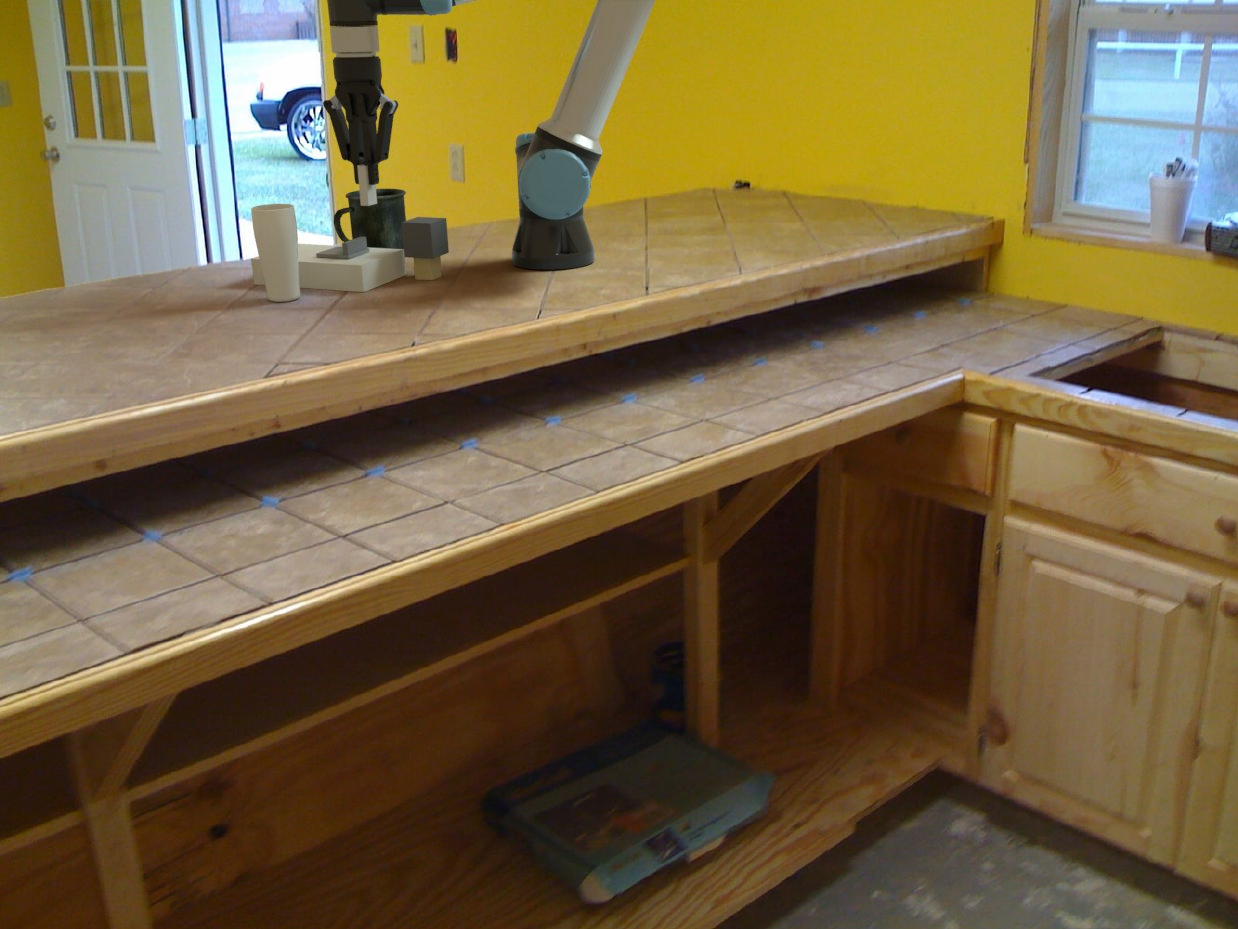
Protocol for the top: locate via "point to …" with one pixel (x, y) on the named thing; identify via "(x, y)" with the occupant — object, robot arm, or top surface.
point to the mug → (375, 219)
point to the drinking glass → (277, 250)
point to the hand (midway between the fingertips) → (369, 204)
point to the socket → (343, 269)
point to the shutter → (346, 249)
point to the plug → (425, 245)
